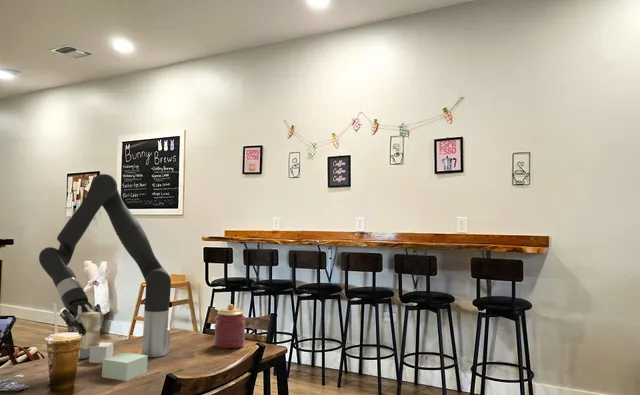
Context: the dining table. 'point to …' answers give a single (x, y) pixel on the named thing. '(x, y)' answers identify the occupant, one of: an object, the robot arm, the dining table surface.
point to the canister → (229, 328)
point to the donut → (84, 353)
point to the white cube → (101, 352)
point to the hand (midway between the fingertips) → (92, 332)
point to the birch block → (90, 329)
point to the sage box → (124, 366)
